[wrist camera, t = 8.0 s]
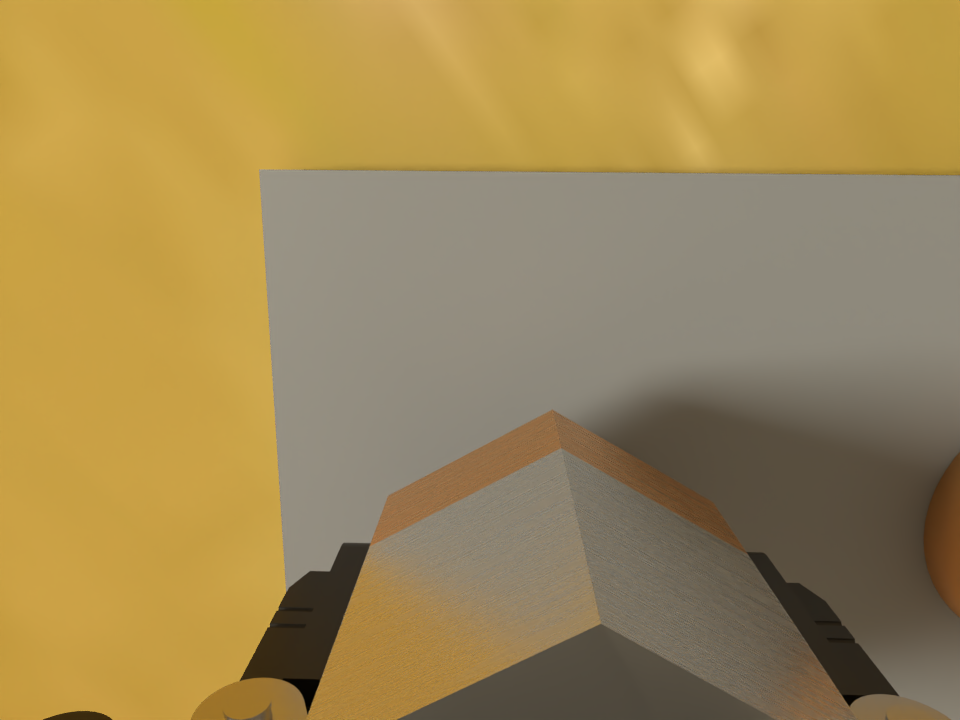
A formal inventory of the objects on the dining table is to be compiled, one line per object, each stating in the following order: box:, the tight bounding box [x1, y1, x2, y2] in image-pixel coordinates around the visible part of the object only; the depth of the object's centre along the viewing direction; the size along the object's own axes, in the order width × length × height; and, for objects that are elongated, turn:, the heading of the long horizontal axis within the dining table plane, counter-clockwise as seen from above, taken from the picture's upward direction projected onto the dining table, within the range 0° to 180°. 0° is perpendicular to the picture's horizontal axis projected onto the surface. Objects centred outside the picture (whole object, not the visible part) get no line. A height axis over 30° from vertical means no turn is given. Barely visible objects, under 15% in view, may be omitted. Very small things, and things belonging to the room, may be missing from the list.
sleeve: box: [306, 409, 858, 720], centre depth 10 cm, size 6×6×6 cm
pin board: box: [259, 170, 960, 720], centre depth 12 cm, size 14×22×9 cm, turn 90°
